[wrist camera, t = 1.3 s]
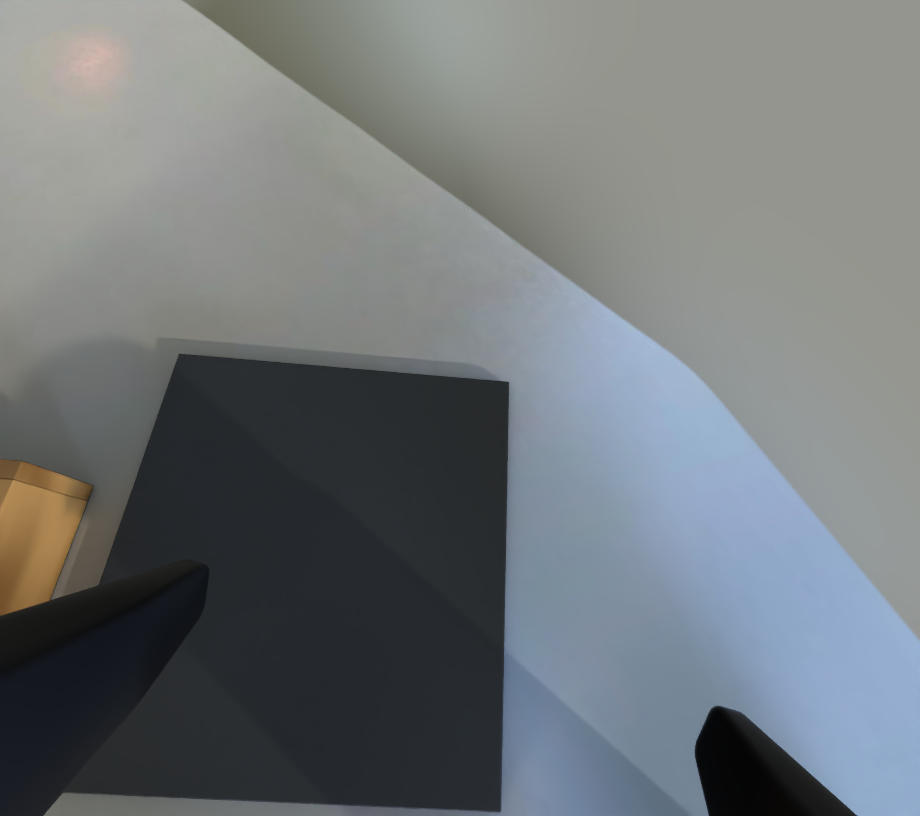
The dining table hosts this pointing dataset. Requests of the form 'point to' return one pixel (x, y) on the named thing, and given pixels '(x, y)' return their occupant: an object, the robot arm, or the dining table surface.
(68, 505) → the wooden box
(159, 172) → the dining table surface
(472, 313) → the dining table surface
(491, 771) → the mat
